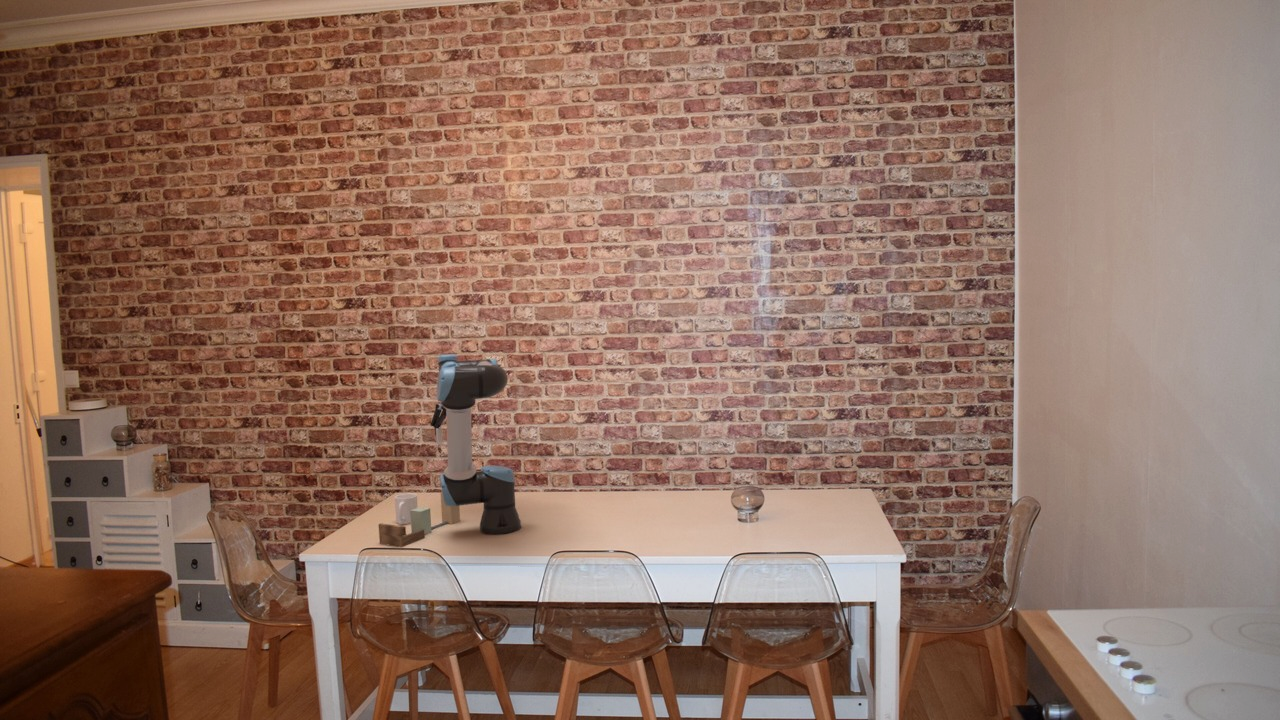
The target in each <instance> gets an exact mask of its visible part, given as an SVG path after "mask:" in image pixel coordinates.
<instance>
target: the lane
mask: <svg viewBox="0 0 1280 720" xmlns="http://www.w3.org/2000/svg"><path fill="white" fill-rule="evenodd" d="M406 529H407V528H406V526H403V525H395V524H388V523H383V522H381V523H378V536H379V544H381V545H387V544H389V545H388V546H395V547H399V546H400V547H399V548H402V547H405V546H408V545H409V544H412V543H415V542H417V541H420V540H423V539H425V535H426V534H424V529H421V530H418V531H416V532H413V533H412V532H411V533H408V534H407V530H406Z"/></svg>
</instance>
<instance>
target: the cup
mask: <svg viewBox="0 0 1280 720" xmlns="http://www.w3.org/2000/svg"><path fill="white" fill-rule="evenodd" d="M394 505H395V507H394V508H395V520H396V523H397V524H398V525H409V524H410V525H411V513H410V510H413V509H416V508H419V506H418V494H417V493H412V492H411V493H401V494H397V495H395V496H394Z"/></svg>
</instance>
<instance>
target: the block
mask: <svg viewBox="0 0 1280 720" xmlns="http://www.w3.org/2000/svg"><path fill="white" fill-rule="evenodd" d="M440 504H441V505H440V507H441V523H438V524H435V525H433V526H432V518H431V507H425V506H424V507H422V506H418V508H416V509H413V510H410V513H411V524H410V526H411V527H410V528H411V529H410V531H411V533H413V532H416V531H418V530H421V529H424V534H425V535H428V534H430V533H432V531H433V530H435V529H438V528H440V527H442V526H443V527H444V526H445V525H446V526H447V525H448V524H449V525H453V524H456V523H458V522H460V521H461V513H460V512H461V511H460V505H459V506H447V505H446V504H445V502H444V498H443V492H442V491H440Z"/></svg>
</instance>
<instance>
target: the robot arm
mask: <svg viewBox="0 0 1280 720" xmlns="http://www.w3.org/2000/svg"><path fill="white" fill-rule="evenodd" d="M437 360H438V363H437V364H438V375H437V382H436V383H437V384H436V389H437V390H436V399H437V401H438V402H439V403H437V404H435V407H434V409H435V410H434V412H433V413H434V414H433V416H432V419H431V422H430V426H431V427H433V428H434V435H435V436H436V439H435V440H436V445H440V444H443V443H444V442H443V441H444V440H443V427H442V424H443V423H444V421H445V419H446V445H447V466H446V467H444V469H443V474H441V475H439V480H440V486H441V487H440V488H441V492H443V498H444V502H445V504H446V505H447V506H459V507H460V506H468V505H476V504H482V503H483V511H482V515H481V518H480V523H479V531H480V533H483V534H486V535H487V534H488V535H501V534H502V535H503V534H509V533H514V532H517V531H519V530H520V529H521V528H522V523H521V522H522V520H521V518H520V517H519V513H518V511H517V507H516V495H515V482H516V481H515V476H514V475H515V474H514V470H513V469H512V468H510V467H508V466H503V465H485V466H482V467H481V471H477V468H476V467H475V465H473V449H472V448H473V444H472V443H473V442H472V440H473V439H472V437H473V436H472V428H473V427H474V426H473V424H472V408H473V407H474V406H475V405H476V400H479V399H480V400H481V399H487V398H491V397H494V396H496V395H497V394H500V393H501V392H503V390H505V388H506V387H507V385H508V379H509V378H508V374H507V372H506V370H505V369H504V368H503V367H501V366H499V364H498V363H499V362H498V360H497V359H494V358H493V359H491V358H486V359H473V360H458V355H456V354H449V353H448V354H441V355H439V356H438V359H437Z"/></svg>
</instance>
